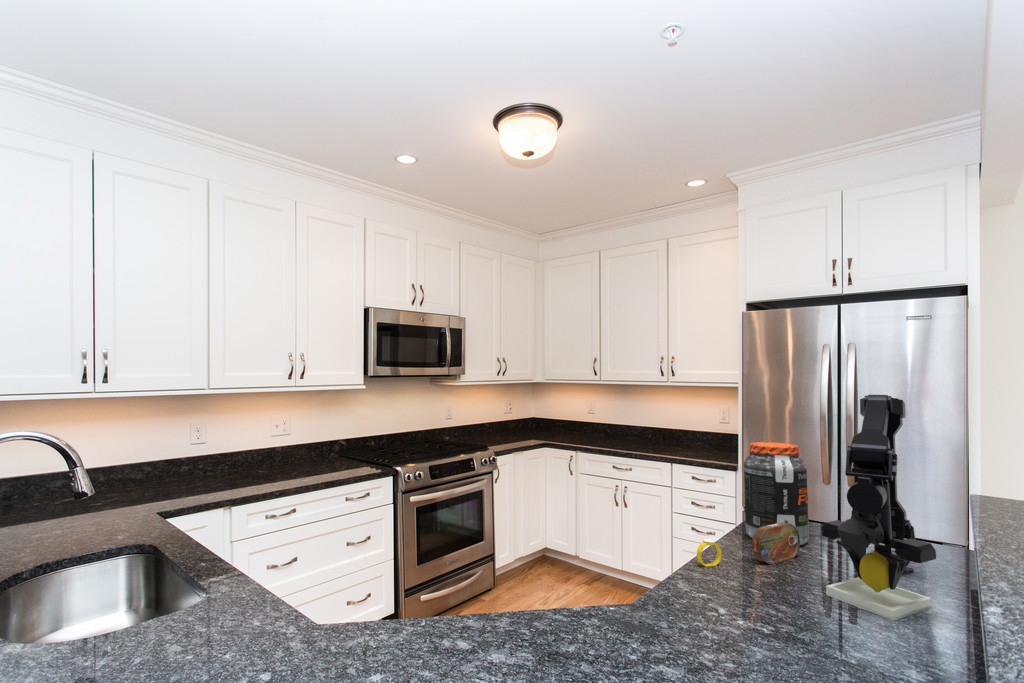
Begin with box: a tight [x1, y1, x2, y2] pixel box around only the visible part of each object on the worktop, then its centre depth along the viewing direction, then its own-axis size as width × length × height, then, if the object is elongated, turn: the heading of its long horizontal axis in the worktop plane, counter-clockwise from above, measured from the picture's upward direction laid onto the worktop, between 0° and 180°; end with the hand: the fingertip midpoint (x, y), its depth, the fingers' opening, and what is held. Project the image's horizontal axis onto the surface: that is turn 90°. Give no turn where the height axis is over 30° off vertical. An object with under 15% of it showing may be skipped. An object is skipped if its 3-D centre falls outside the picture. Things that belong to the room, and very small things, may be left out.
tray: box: [825, 576, 933, 622], centre depth 103 cm, size 13×13×2 cm
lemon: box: [859, 550, 890, 593], centre depth 103 cm, size 6×6×8 cm
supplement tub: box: [743, 441, 810, 546], centre depth 144 cm, size 16×16×26 cm
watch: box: [696, 538, 723, 568], centre depth 123 cm, size 6×3×6 cm, turn 105°
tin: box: [751, 523, 801, 565], centre depth 127 cm, size 15×3×8 cm, turn 117°
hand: (876, 583), depth 103 cm, fingers closed on lemon, 5 cm apart
